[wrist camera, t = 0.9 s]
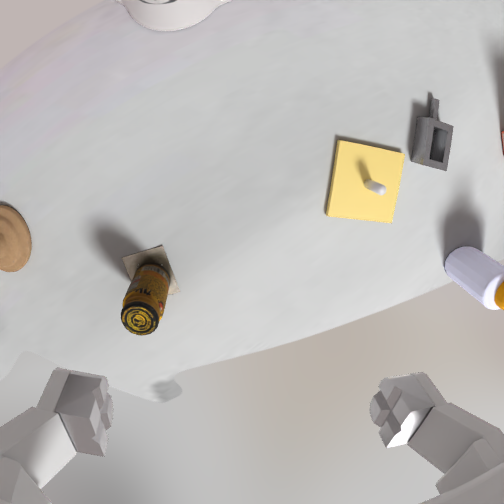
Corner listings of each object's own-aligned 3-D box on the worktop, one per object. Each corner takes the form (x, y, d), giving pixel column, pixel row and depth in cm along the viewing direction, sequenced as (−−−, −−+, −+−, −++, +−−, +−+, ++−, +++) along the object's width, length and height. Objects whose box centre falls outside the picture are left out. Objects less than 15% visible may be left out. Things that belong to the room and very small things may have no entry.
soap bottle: (487, 249, 58) (549, 290, 40) (474, 282, 61) (531, 328, 42) (451, 241, 56) (520, 287, 37) (437, 278, 59) (499, 332, 40)
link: (419, 94, 44) (431, 94, 41) (443, 103, 45) (455, 104, 42) (410, 161, 49) (422, 164, 45) (434, 167, 49) (446, 171, 46)
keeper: (337, 139, 46) (352, 142, 41) (401, 153, 48) (420, 158, 43) (325, 214, 50) (338, 225, 45) (388, 221, 52) (404, 231, 47)
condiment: (140, 301, 52) (126, 345, 41) (121, 257, 49) (100, 294, 38) (180, 291, 53) (174, 334, 42) (163, 245, 49) (150, 280, 38)
